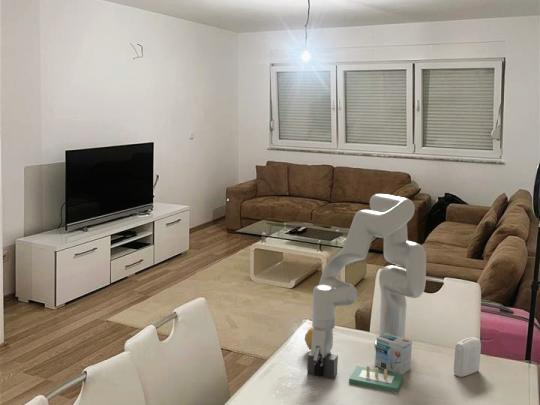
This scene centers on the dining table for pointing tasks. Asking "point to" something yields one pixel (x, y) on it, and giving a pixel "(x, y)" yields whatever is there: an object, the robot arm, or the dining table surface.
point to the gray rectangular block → (329, 365)
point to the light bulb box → (393, 353)
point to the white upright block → (467, 357)
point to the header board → (376, 379)
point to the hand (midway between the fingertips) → (322, 371)
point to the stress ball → (309, 337)
